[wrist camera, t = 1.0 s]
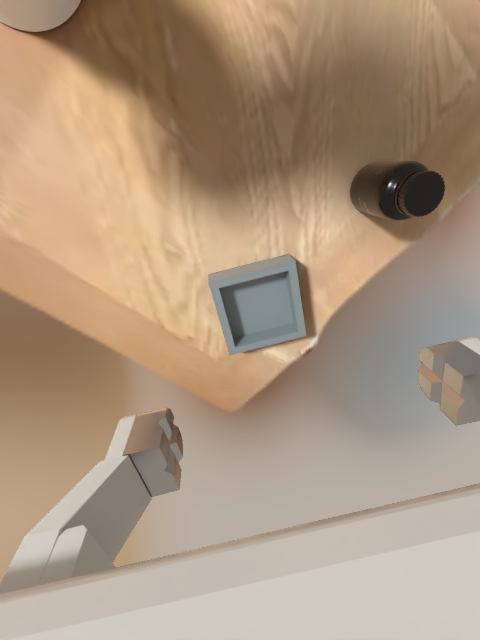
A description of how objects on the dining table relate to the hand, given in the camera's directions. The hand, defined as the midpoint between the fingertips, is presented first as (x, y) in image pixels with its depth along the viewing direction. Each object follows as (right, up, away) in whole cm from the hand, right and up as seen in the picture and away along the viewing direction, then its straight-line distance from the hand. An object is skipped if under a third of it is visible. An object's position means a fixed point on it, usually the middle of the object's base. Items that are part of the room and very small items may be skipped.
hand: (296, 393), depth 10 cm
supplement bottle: (+17, +22, +35) cm, 45 cm away
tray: (+1, +6, +40) cm, 41 cm away
